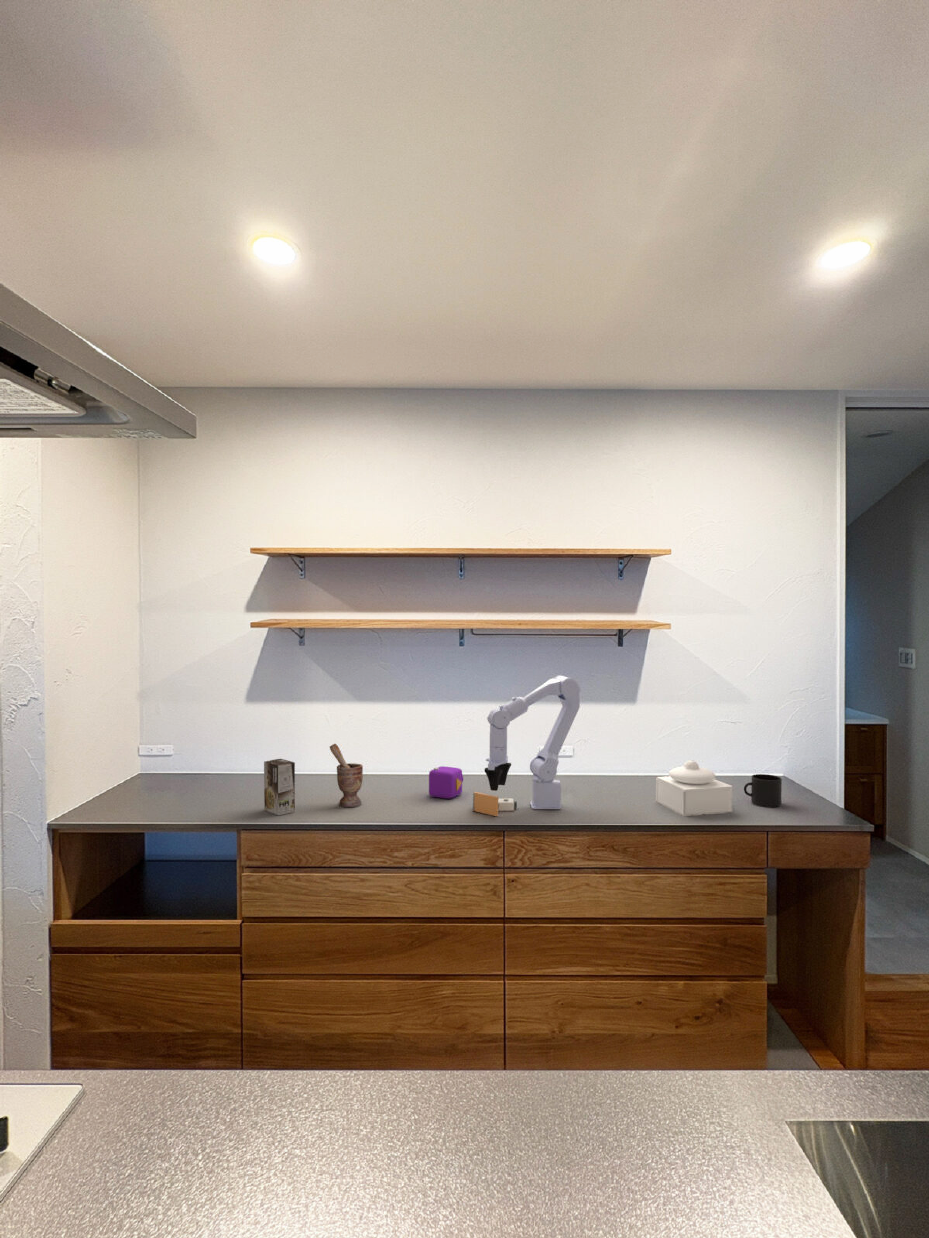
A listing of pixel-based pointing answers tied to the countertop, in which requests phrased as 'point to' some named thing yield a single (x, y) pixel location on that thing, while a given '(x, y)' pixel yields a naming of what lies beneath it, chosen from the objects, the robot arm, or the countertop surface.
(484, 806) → the side door
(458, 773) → the toy camera
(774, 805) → the mug
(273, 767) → the coffee box
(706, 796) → the butter dish
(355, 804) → the mortar and pestle
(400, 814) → the countertop surface
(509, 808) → the cream tapered panel
